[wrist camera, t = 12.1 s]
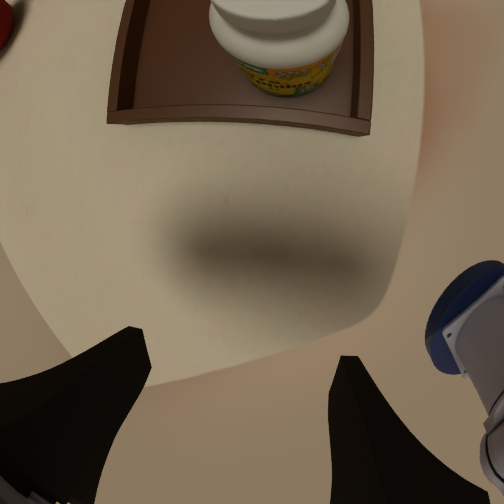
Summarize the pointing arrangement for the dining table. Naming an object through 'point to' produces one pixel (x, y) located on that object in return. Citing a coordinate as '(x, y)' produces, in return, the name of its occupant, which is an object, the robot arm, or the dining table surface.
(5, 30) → the apple
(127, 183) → the dining table surface
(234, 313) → the dining table surface
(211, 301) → the dining table surface
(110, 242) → the dining table surface
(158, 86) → the tray
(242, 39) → the supplement bottle
